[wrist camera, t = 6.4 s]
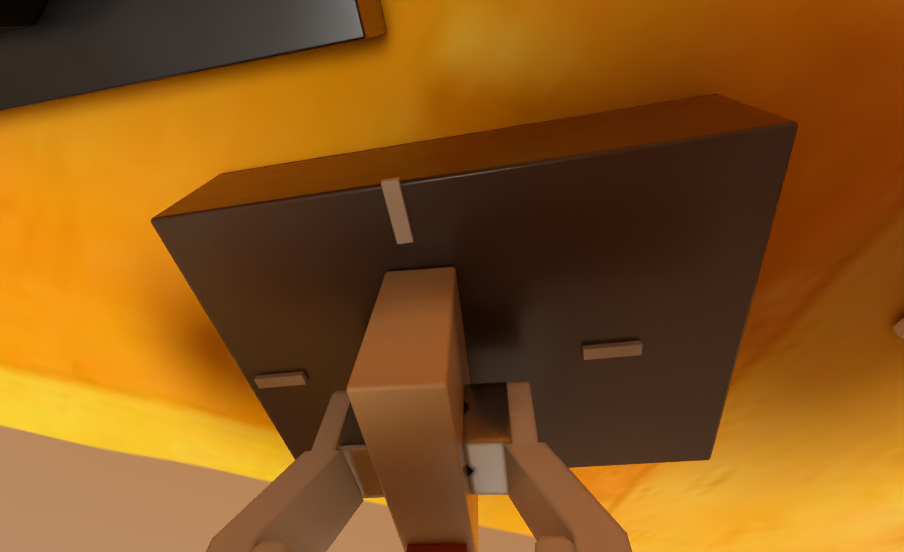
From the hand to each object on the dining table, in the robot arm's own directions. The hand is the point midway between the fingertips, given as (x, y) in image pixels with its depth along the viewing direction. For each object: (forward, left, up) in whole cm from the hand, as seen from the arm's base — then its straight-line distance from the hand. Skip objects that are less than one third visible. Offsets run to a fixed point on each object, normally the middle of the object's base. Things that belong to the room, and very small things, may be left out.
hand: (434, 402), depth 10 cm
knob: (0, 0, -1) cm, 1 cm away
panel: (-1, 0, -4) cm, 4 cm away
